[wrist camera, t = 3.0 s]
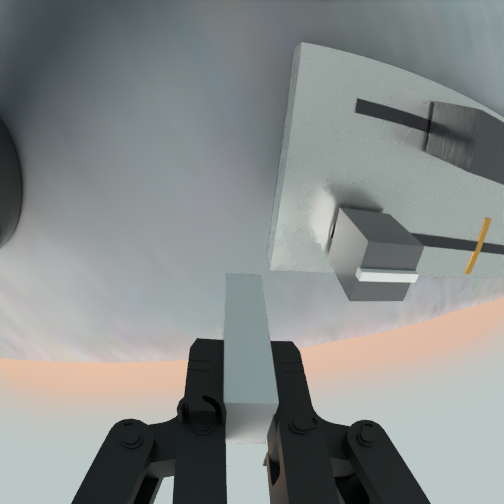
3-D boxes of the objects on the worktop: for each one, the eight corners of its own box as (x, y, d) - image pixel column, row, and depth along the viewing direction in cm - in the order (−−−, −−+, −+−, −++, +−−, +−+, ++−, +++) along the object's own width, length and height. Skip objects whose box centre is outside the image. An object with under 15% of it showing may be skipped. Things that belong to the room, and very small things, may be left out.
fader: (327, 258, 22) (350, 305, 17) (339, 207, 20) (370, 244, 15) (375, 261, 22) (406, 304, 18) (389, 213, 20) (428, 249, 16)
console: (266, 253, 25) (279, 317, 18) (294, 47, 17) (327, 24, 10) (502, 267, 28) (539, 304, 21) (539, 145, 20) (588, 168, 14)
